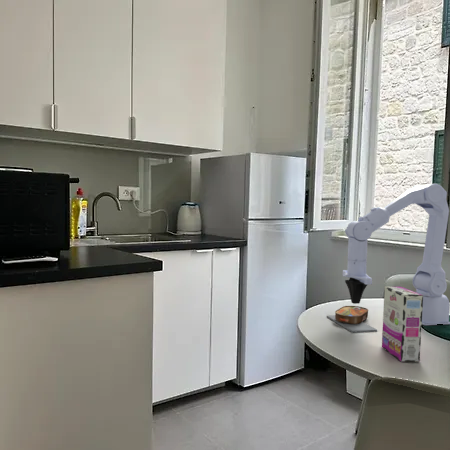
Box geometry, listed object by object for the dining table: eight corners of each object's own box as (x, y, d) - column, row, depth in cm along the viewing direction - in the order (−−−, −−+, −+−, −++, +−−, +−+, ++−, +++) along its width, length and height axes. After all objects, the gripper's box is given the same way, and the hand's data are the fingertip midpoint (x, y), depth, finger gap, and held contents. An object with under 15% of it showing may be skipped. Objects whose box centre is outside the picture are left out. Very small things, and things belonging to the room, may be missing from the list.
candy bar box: (421, 362, 105) (424, 295, 104) (401, 362, 104) (404, 295, 103) (399, 346, 116) (401, 285, 115) (380, 347, 115) (383, 285, 114)
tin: (358, 317, 132) (331, 311, 136) (356, 327, 132) (330, 321, 137) (371, 308, 144) (346, 302, 149) (370, 317, 145) (345, 311, 149)
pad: (348, 316, 146) (348, 314, 146) (377, 331, 129) (377, 329, 129) (326, 317, 144) (326, 315, 144) (352, 332, 127) (352, 330, 127)
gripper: (334, 256, 142) (333, 298, 143) (357, 263, 128) (355, 309, 128) (354, 256, 143) (352, 297, 144) (379, 263, 129) (377, 308, 130)
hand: (355, 303), depth 136 cm, fingers closed
